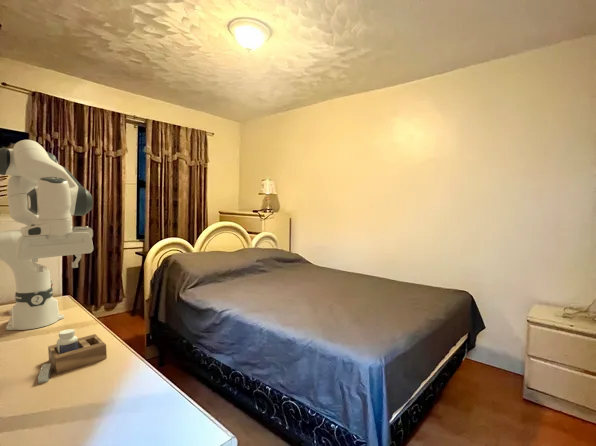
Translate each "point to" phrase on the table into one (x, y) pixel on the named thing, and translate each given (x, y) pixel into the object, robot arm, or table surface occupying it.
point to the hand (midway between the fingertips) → (57, 269)
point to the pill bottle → (67, 341)
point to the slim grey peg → (45, 373)
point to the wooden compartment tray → (78, 354)
